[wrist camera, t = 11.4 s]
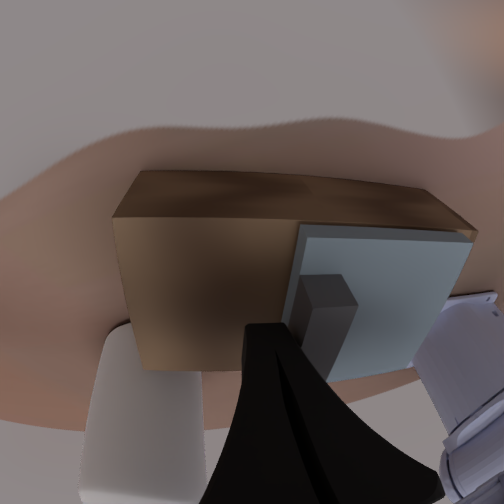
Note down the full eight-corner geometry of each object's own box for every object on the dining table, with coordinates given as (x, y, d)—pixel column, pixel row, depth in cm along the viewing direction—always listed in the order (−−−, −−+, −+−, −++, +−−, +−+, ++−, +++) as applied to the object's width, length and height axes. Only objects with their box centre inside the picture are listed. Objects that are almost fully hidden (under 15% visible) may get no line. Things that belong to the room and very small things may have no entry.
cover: (462, 232, 10) (496, 264, 8) (399, 357, 14) (417, 390, 12) (300, 224, 9) (323, 268, 7) (269, 374, 13) (278, 416, 11)
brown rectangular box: (425, 189, 15) (478, 231, 11) (386, 297, 19) (418, 349, 15) (140, 170, 12) (111, 217, 9) (153, 303, 17) (143, 370, 13)
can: (221, 354, 20) (240, 534, 10) (157, 387, 21) (155, 537, 11) (146, 299, 16) (122, 523, 6) (88, 344, 18) (55, 514, 8)
